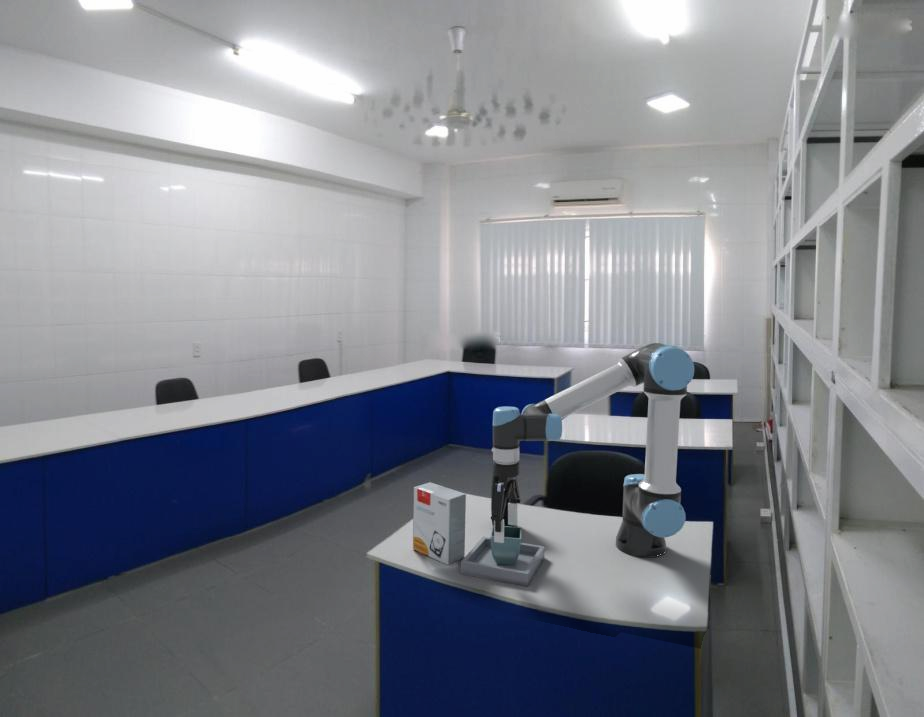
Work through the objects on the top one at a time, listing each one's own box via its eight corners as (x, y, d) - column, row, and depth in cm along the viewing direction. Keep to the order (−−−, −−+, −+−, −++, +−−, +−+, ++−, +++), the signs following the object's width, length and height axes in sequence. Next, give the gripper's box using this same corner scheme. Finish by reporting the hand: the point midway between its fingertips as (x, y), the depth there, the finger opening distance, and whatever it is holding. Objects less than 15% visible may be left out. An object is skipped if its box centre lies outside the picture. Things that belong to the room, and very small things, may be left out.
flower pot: (521, 555, 176) (521, 526, 176) (520, 569, 168) (521, 538, 167) (491, 554, 177) (492, 525, 177) (489, 567, 169) (490, 536, 168)
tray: (544, 557, 178) (544, 546, 177) (527, 586, 160) (528, 574, 159) (483, 547, 185) (483, 536, 184) (460, 573, 167) (460, 561, 166)
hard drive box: (411, 550, 182) (412, 486, 180) (429, 542, 188) (430, 481, 186) (448, 565, 171) (448, 498, 170) (465, 557, 177) (466, 492, 175)
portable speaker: (511, 520, 208) (512, 465, 206) (519, 530, 199) (521, 473, 197) (487, 521, 206) (488, 466, 204) (494, 532, 197) (496, 474, 195)
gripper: (506, 449, 182) (506, 516, 184) (479, 471, 159) (479, 548, 161) (529, 451, 179) (529, 519, 181) (506, 474, 156) (506, 552, 158)
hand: (506, 533), depth 171 cm, fingers open, 13 cm apart
